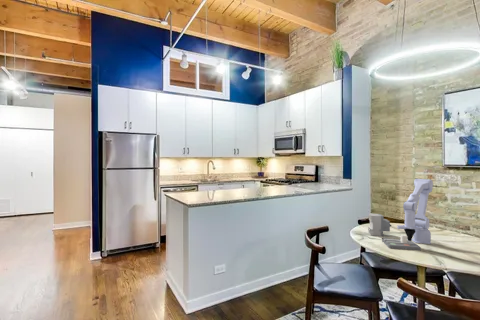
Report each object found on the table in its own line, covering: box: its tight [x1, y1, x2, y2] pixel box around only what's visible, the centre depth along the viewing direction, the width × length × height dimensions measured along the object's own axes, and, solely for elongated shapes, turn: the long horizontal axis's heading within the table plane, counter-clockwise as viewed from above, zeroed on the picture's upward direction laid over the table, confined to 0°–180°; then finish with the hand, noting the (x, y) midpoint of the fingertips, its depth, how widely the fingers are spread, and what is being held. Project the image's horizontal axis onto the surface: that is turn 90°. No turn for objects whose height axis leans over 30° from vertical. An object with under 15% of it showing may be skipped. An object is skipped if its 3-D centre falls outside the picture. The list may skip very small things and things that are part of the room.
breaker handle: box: [399, 234, 408, 243], centre depth 169 cm, size 3×3×5 cm
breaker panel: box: [381, 237, 422, 251], centre depth 170 cm, size 18×14×3 cm
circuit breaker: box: [367, 213, 392, 237], centre depth 193 cm, size 8×14×15 cm, turn 78°
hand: (409, 240), depth 168 cm, fingers closed
